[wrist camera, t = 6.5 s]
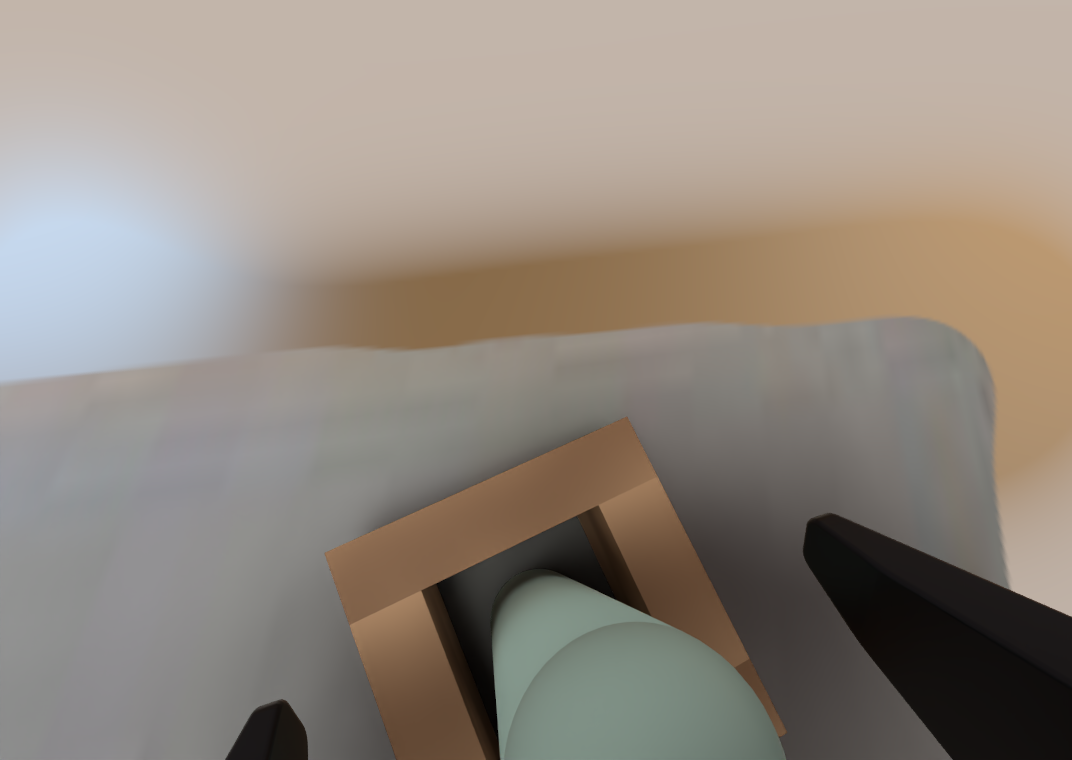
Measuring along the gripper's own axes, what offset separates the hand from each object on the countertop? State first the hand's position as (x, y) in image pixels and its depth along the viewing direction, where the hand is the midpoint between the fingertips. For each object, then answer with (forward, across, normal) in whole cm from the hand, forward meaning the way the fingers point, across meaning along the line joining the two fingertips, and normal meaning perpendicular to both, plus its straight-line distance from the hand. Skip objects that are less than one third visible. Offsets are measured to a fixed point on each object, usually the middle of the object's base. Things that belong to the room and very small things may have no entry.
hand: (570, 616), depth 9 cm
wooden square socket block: (+6, 0, +8) cm, 10 cm away
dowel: (+6, 0, +8) cm, 10 cm away
